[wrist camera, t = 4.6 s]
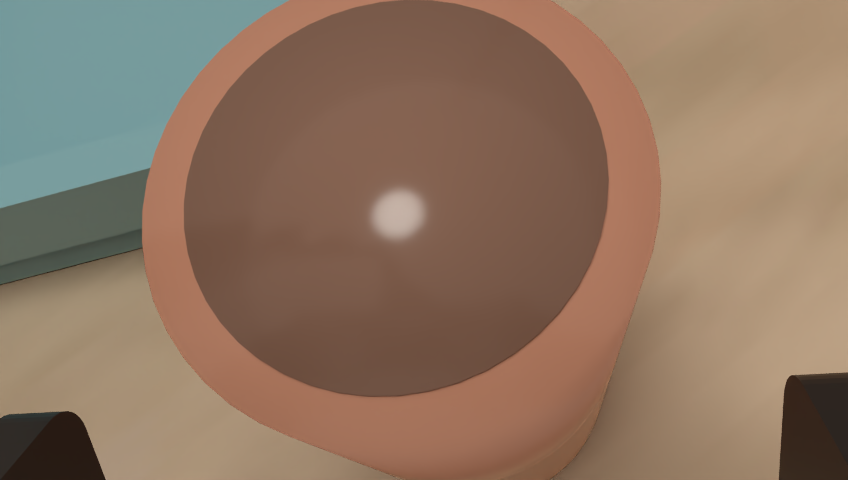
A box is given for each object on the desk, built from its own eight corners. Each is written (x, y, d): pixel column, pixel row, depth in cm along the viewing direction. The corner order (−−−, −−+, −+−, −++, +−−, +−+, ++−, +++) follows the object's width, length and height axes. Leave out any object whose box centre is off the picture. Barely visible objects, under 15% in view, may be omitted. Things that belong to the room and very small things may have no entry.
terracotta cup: (379, 523, 17) (152, 506, 7) (342, 284, 19) (126, 30, 9) (634, 471, 16) (740, 380, 7) (568, 232, 18) (580, -89, 9)
